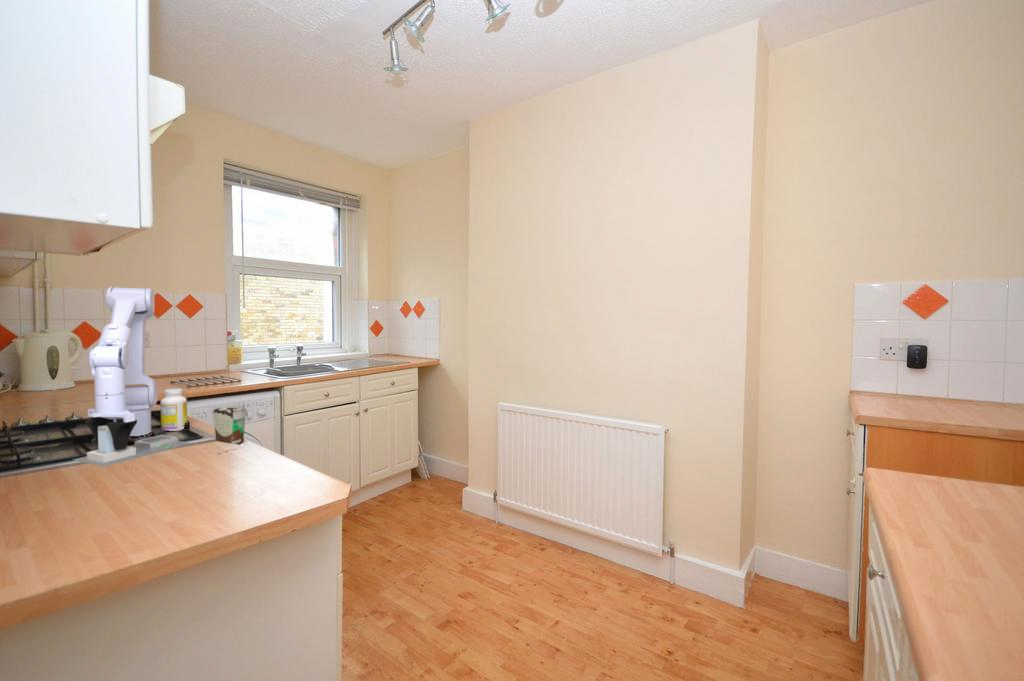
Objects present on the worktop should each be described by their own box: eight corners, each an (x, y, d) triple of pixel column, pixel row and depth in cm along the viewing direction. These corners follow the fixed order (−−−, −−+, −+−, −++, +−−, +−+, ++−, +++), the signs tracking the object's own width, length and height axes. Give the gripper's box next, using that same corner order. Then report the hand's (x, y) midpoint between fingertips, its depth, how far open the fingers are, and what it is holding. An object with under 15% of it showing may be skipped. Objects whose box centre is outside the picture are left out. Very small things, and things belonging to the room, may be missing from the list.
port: (134, 447, 120) (134, 441, 120) (162, 441, 127) (162, 434, 127) (155, 451, 118) (155, 444, 118) (183, 444, 125) (183, 438, 124)
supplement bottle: (181, 426, 147) (180, 387, 146) (191, 429, 144) (190, 389, 143) (156, 430, 141) (156, 389, 141) (167, 433, 138) (166, 392, 137)
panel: (72, 463, 110) (72, 459, 110) (162, 441, 130) (162, 438, 130) (104, 470, 106) (104, 466, 106) (192, 446, 126) (192, 443, 126)
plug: (98, 458, 112) (97, 426, 111) (117, 453, 115) (116, 423, 115) (106, 460, 111) (105, 427, 110) (125, 455, 114) (124, 424, 114)
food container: (256, 443, 131) (256, 409, 131) (234, 448, 126) (234, 412, 125) (234, 436, 138) (234, 403, 137) (212, 440, 132) (212, 406, 132)
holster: (87, 459, 111) (86, 452, 110) (120, 451, 117) (120, 444, 117) (103, 462, 109) (103, 455, 108) (136, 454, 115) (135, 447, 115)
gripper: (72, 393, 111) (73, 448, 111) (110, 398, 106) (112, 455, 107) (105, 389, 117) (107, 440, 118) (143, 394, 113) (144, 447, 113)
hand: (111, 447), depth 113 cm, fingers open, 6 cm apart
